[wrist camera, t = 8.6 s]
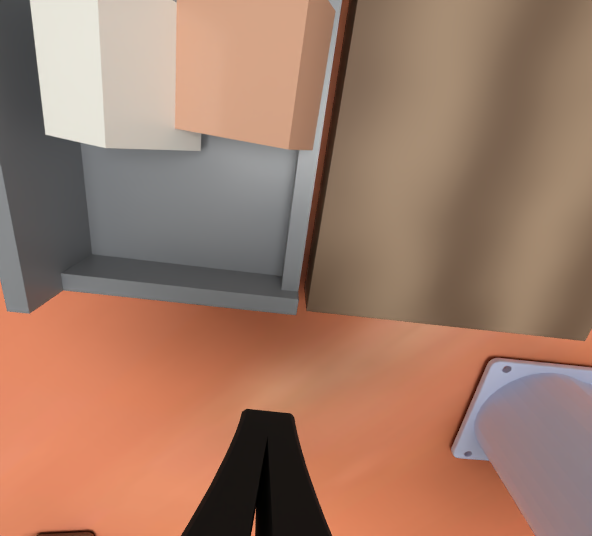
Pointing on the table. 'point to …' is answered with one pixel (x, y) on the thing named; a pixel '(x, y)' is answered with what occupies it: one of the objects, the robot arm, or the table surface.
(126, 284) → the gray box
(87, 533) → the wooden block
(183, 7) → the terracotta tile
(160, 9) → the cream tile
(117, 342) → the table surface
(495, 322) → the walnut board
